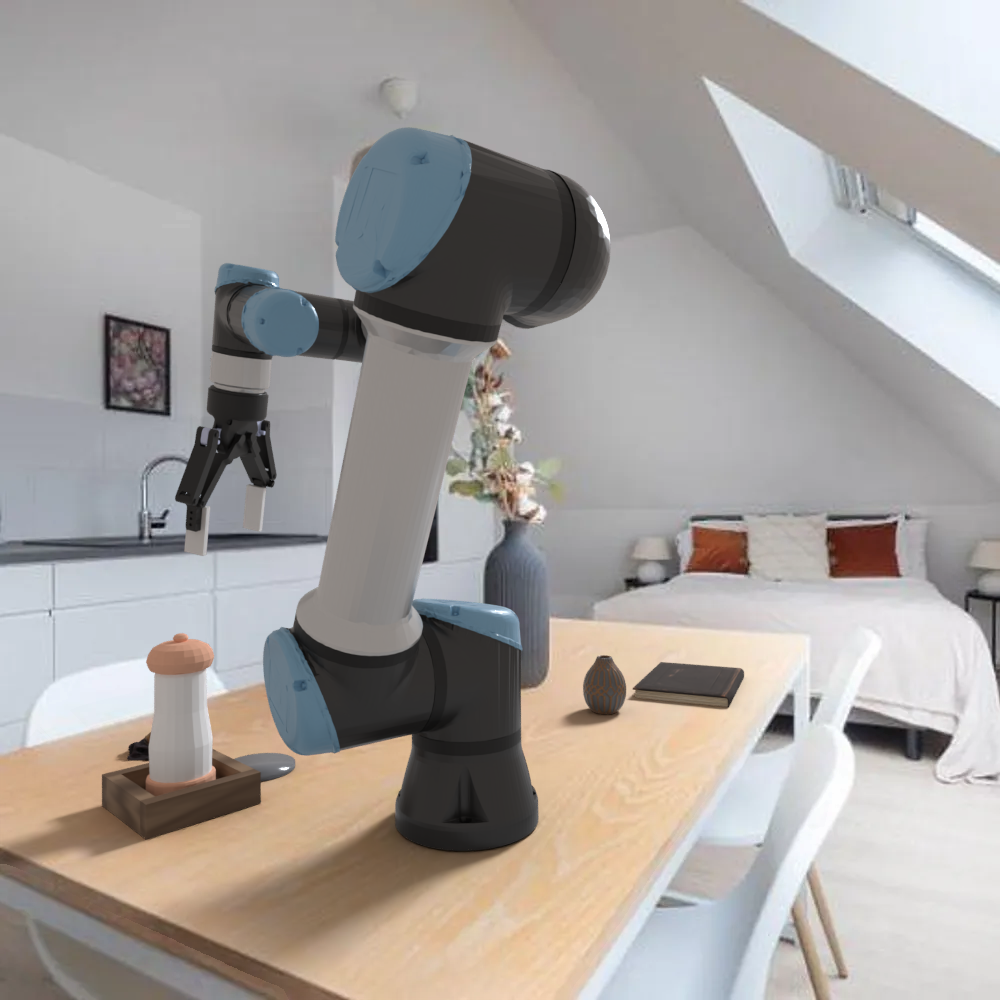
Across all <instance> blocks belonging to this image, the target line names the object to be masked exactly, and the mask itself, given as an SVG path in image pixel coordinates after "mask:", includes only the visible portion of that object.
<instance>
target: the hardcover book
mask: <svg viewBox="0 0 1000 1000" xmlns="http://www.w3.org/2000/svg"><path fill="white" fill-rule="evenodd" d="M744 678H745V671H744V669H743V668H740V667H732V666H716V665H706V664H705V665H704V664H691V663H679V662H678V663H677V662H667V661H665V662H664V661H660V662H659V663H658V664H657V665H656V666H655V667H654V668H653V669H652V670H650V671H649V672H648V673H647V674H646V675H645V676H644V677H643V678H642V679H641V680H639V682H637V683H636V684H635V685H634V686H633V687H632V690H633V691H634V692H635V693H634V696H635V697H634V699H643V700H644V699H645V700H652V701H663V702H671V703H684V704H693V705H702V706H712V707H713V706H714V707H724V708H730V706H731V704H732V703H733V700H734V698H735V696H736V694H737V692H738V690H739V688H740V686H741V684H742V682H743V681H744Z"/></svg>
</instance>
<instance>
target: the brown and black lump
mask: <svg viewBox="0 0 1000 1000" xmlns="http://www.w3.org/2000/svg"><path fill="white" fill-rule="evenodd" d="M150 735H151V731H150V732H149V733H148V734H147V735H145V736H144V737H143V738H142V739H140V740H139V741H134V742H132V743H130V744H129V745H128V749H127V751H128V752H129V754H128V755H127V757H126V759H127V761H128V762H131V761H132V762H137V761H139V762H141V761H142V762H145V761H146V762H149V742H150Z"/></svg>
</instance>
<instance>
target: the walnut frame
mask: <svg viewBox="0 0 1000 1000" xmlns="http://www.w3.org/2000/svg"><path fill="white" fill-rule="evenodd" d="M212 766H214V767H215V769H216V780H212V781H209V782H205V783H202V784H198V785H195V786H191V787H187V788H184V789H180V790H177V791H173V792H169V793H166V794H162V795H159V796H154V795H152V794H151V793H149V792H148V791H146V778H147V776H148V775H149V774H150V772H149V762H147V763H142V764H139V765H135V766H130V767H126V768H122V769H117V770H114V771H110V772H106V773H102V774H101V806H102V808H104V809H105V810H107V811H108V812H109V813H111V814H112V815H113V816H115V817H116V818H117V819H118V820H120V821H121V822H122V823H124V824H125V825H127V826H128V827H129V828H130V829H132V831H134V832H135V833H136V834H138V835H139V836H141V837H142V838H143V839H145V840H149V839H153V838H156V837H159V836H162V835H164V834H168V833H171V832H175V831H179V830H181V829H185V828H187V827H189V826H190V827H191V826H193V825H194V826H195V825H197V824H199V823H202V822H206V821H209V820H212V819H215V818H218V817H221V816H225V815H228V814H230V813H235V812H238V811H241V810H243V809H247V808H249V807H250V808H251V807H253V806H254V807H255V806H257V805H260V804H261V803H262V796H261V793H262V791H261V789H262V787H261V786H262V783H261V782H262V781H261V772H259V771H257V770H255V769H253V768H251V767H249V766H247V765H245V764H243V763H241V762H239V761H237V760H235V758H233V757H230V756H229V755H227V754H224V753H222V752H220V751H218V750H216V749H213V748H212Z"/></svg>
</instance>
